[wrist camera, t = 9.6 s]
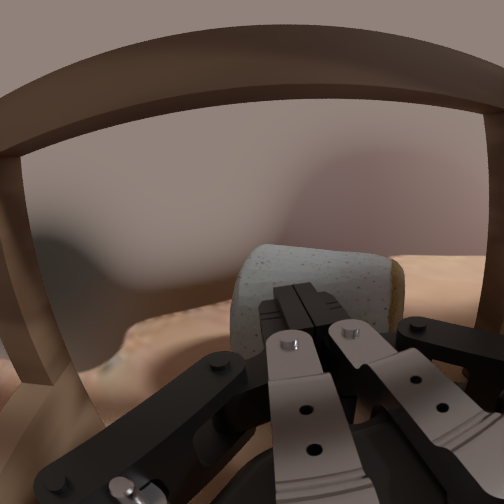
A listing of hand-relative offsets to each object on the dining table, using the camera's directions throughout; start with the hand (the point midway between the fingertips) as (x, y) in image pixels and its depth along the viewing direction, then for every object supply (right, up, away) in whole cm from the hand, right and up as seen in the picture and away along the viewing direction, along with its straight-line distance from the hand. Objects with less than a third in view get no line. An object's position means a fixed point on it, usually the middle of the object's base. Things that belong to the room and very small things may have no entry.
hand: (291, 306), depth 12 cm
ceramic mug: (+3, -5, +6) cm, 8 cm away
